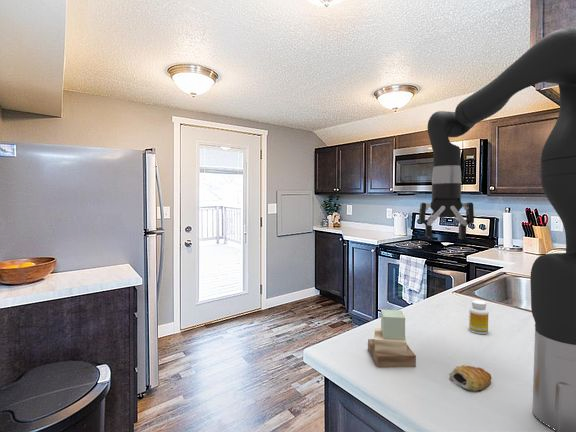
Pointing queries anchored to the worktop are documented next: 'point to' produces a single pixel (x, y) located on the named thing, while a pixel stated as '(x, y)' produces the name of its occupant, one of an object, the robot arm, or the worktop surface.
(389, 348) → the block top
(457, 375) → the pastry
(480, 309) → the supplement bottle
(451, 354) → the worktop surface
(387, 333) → the sage block
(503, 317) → the worktop surface
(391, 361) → the block bottom
